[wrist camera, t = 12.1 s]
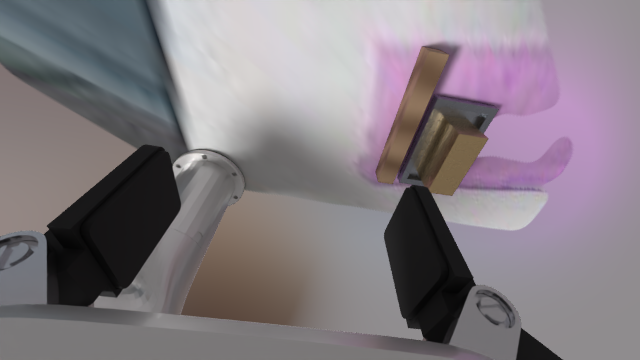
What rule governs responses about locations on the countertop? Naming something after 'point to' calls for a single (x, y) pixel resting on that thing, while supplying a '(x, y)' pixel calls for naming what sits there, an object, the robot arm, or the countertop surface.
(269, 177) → the countertop surface
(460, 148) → the bar
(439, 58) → the door edge strip
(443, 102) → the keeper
